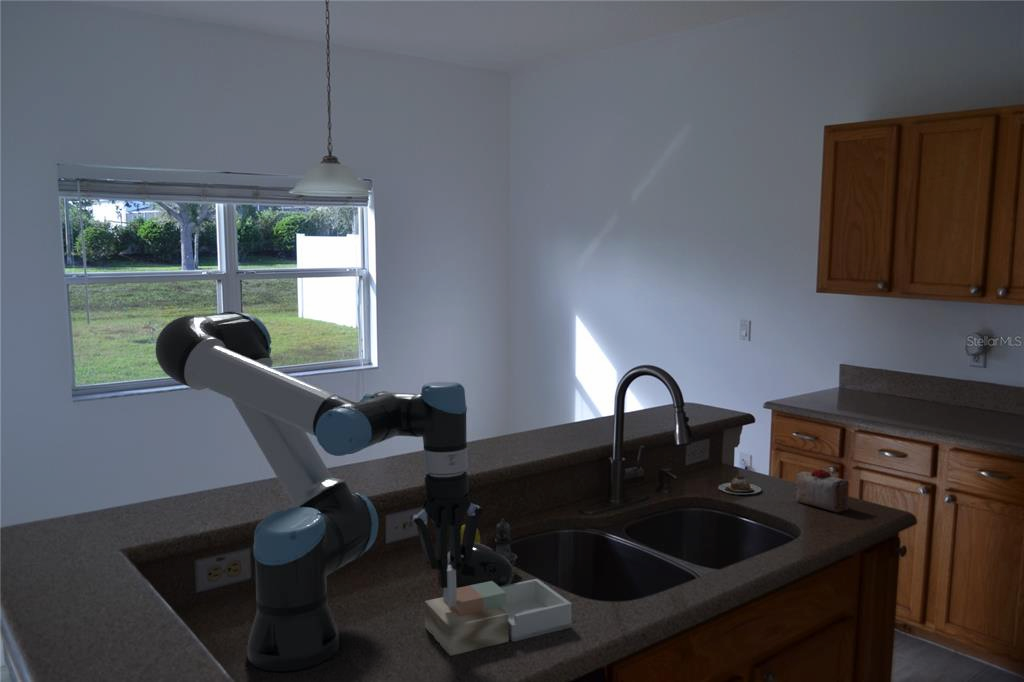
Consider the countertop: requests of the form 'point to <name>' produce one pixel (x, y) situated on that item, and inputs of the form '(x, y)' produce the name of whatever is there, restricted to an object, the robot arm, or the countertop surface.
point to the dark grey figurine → (505, 543)
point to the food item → (822, 490)
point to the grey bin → (535, 610)
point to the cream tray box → (465, 627)
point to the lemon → (477, 537)
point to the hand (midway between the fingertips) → (450, 603)
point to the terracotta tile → (468, 601)
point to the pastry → (740, 486)
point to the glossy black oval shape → (485, 567)
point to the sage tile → (491, 595)
